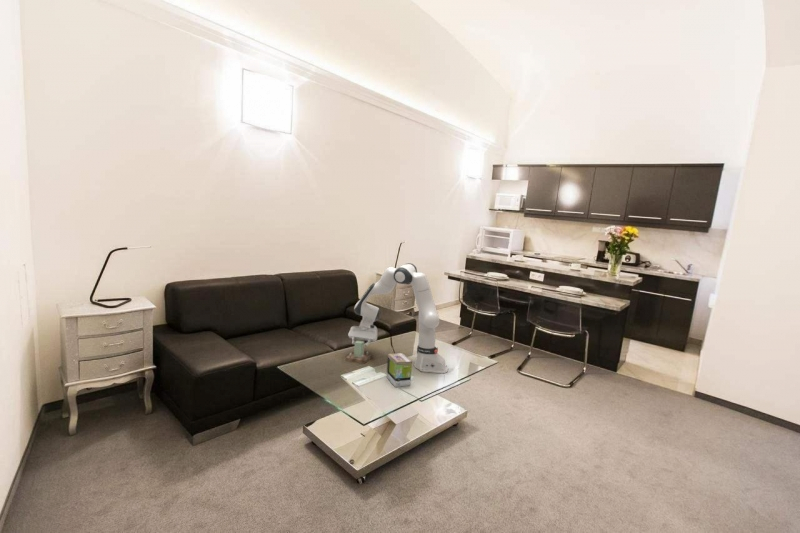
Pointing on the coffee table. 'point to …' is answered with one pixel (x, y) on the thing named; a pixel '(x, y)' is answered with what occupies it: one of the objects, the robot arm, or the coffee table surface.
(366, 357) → the walnut peg plate
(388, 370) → the tea box
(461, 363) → the coffee table surface
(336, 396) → the coffee table surface
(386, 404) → the coffee table surface
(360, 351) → the sage post
